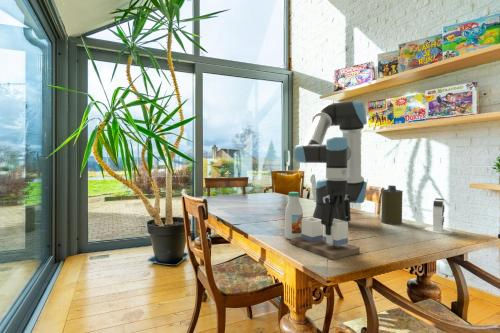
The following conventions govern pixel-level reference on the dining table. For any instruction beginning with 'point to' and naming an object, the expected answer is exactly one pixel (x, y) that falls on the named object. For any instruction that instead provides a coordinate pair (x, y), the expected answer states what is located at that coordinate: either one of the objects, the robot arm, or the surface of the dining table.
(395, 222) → the canister
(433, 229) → the light grey upright piece
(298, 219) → the milk bottle
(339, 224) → the white sleeve
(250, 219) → the dining table surface
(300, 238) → the pin board
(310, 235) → the seated sleeve
